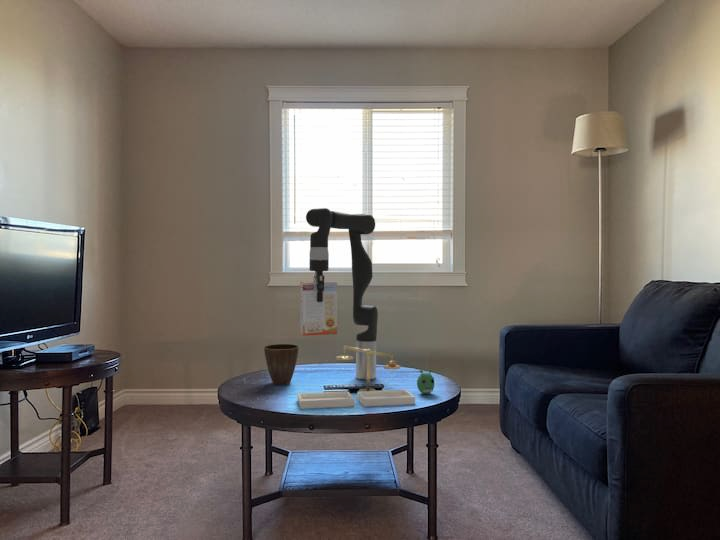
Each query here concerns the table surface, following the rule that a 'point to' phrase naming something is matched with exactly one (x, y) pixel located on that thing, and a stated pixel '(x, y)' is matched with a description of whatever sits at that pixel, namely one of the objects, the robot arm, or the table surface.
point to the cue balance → (390, 363)
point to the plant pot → (281, 362)
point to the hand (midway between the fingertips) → (318, 301)
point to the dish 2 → (385, 397)
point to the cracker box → (318, 309)
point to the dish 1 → (325, 399)
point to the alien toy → (425, 382)
